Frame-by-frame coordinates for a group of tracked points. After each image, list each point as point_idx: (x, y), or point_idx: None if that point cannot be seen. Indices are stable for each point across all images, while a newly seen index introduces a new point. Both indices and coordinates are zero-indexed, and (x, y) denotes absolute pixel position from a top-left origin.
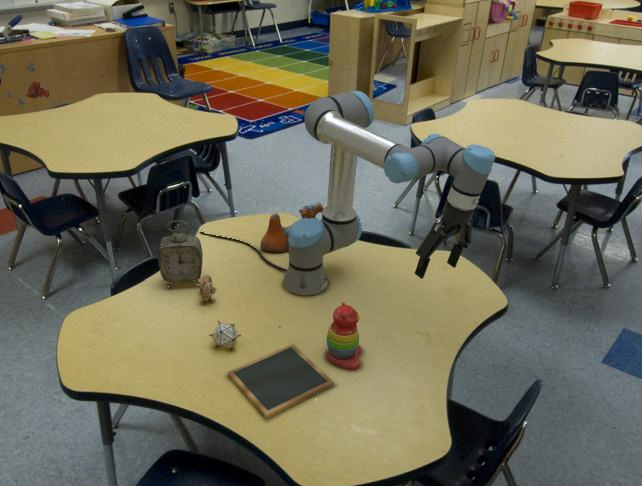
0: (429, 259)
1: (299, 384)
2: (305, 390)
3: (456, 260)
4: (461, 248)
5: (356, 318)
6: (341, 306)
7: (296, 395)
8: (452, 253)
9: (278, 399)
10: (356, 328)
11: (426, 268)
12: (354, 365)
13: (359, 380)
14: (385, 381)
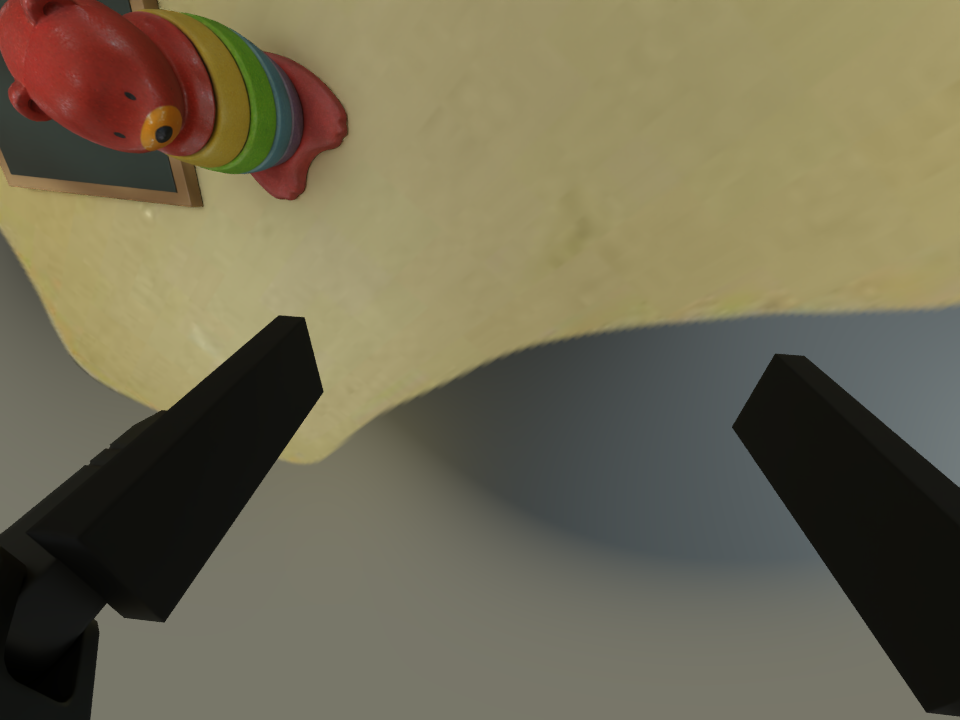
0: (148, 613)
1: (101, 149)
2: (111, 181)
3: (780, 496)
4: (946, 710)
5: (126, 145)
6: (10, 23)
7: (85, 181)
8: (865, 482)
9: (39, 160)
10: (197, 145)
11: (255, 477)
12: (271, 194)
13: (273, 238)
14: (328, 287)
